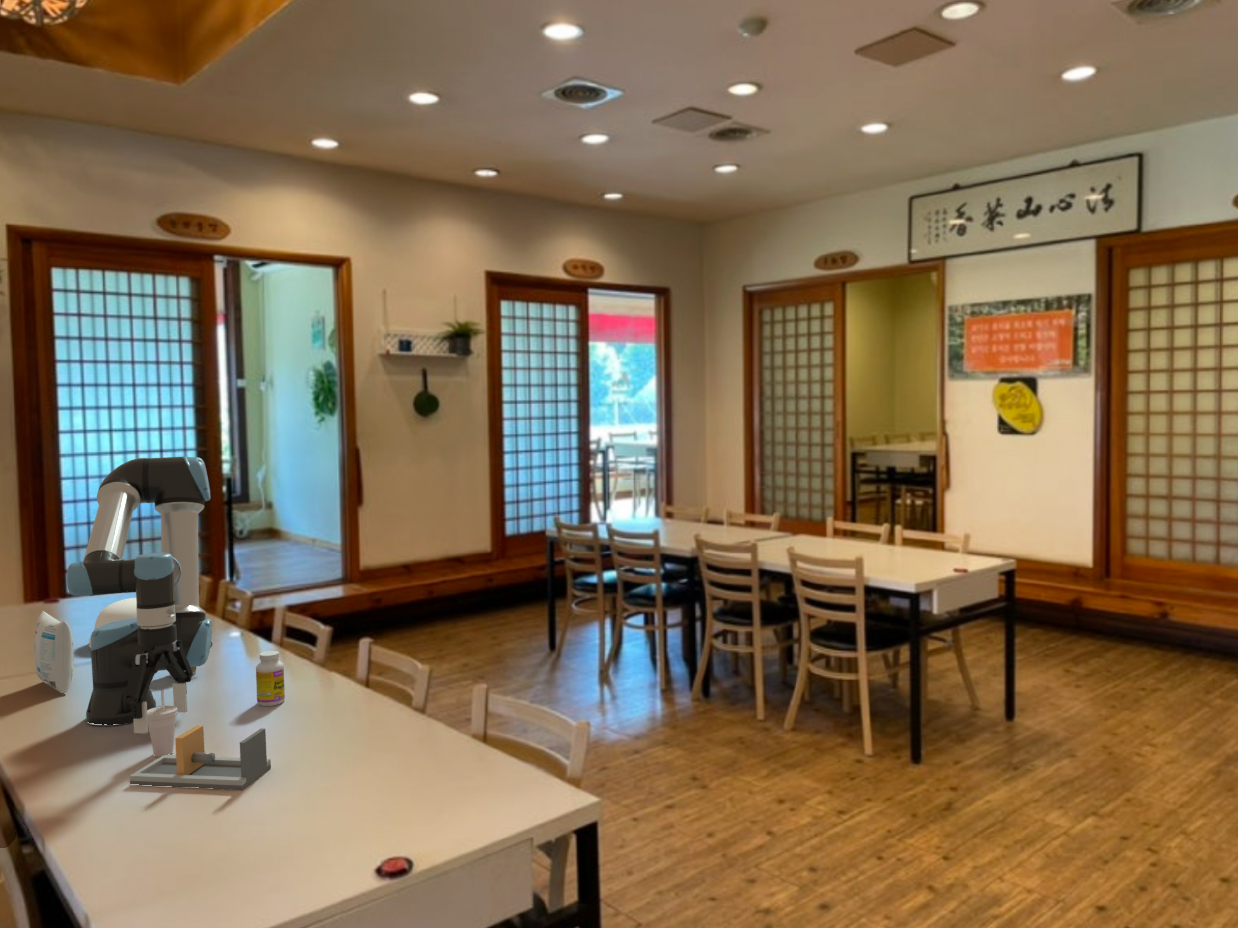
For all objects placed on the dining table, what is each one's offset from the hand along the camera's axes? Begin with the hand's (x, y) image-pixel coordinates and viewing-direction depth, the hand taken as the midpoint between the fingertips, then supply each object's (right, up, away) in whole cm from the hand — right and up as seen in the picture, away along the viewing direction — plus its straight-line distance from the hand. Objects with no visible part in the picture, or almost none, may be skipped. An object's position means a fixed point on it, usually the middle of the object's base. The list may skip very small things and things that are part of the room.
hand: (161, 722), depth 200 cm
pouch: (-54, -5, +50) cm, 74 cm away
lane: (+14, -8, -12) cm, 20 cm away
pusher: (+14, -6, -12) cm, 20 cm away
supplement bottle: (+11, -5, +35) cm, 37 cm away
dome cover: (-57, -2, +101) cm, 116 cm away
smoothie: (0, -7, +1) cm, 7 cm away
